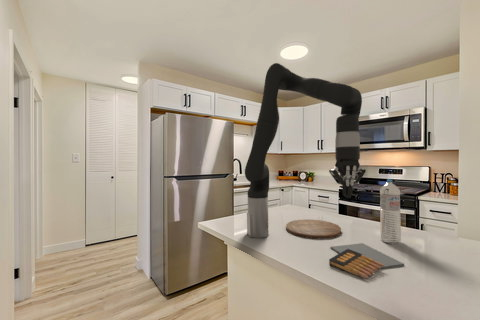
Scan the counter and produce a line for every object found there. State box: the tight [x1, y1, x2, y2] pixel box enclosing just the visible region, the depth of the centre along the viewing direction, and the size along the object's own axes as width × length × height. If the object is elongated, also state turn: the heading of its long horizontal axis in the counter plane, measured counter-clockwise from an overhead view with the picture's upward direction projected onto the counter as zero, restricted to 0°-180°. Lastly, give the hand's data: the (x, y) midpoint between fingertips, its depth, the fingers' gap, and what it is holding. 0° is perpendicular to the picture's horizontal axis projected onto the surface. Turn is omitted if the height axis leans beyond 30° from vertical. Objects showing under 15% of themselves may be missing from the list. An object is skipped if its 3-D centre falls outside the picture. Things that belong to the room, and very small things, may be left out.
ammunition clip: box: [328, 249, 384, 279], centre depth 71 cm, size 11×2×12 cm
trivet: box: [285, 218, 342, 240], centre depth 109 cm, size 25×25×2 cm
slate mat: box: [330, 242, 405, 270], centre depth 79 cm, size 14×18×1 cm
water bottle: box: [379, 179, 402, 245], centre depth 92 cm, size 7×7×25 cm
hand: (347, 196), depth 78 cm, fingers closed
